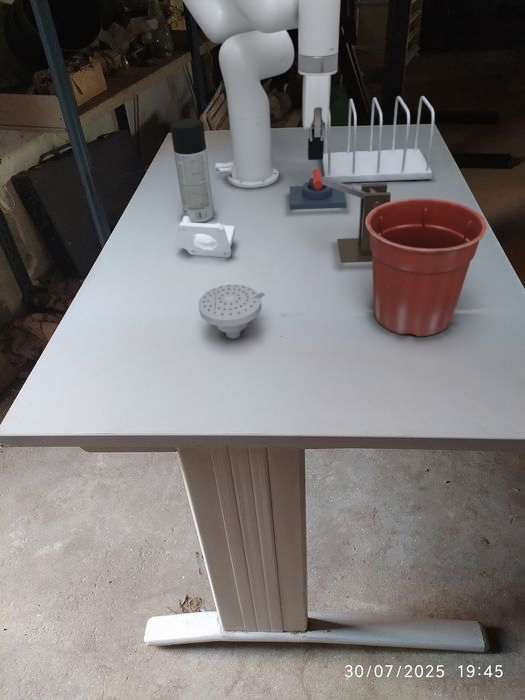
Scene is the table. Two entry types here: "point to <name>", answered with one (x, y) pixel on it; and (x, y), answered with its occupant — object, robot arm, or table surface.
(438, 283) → the flower pot
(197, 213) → the spray can
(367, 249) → the brown lever stand
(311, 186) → the button
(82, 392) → the table surface
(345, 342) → the table surface
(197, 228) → the mounting bracket
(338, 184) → the tap lever
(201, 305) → the showerhead
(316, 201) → the button box
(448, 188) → the table surface
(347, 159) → the file sorter
